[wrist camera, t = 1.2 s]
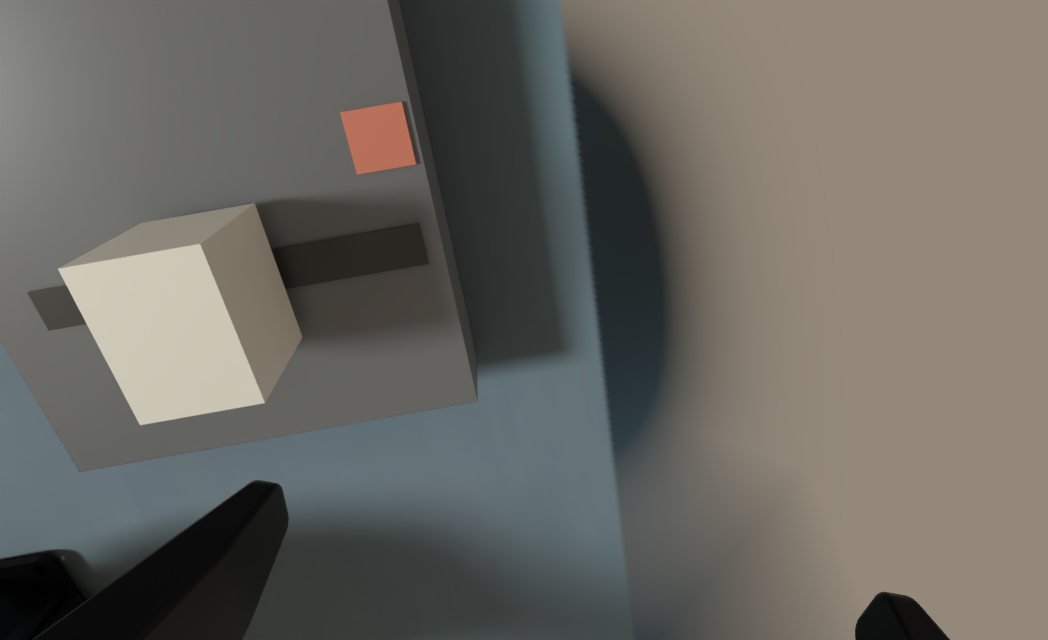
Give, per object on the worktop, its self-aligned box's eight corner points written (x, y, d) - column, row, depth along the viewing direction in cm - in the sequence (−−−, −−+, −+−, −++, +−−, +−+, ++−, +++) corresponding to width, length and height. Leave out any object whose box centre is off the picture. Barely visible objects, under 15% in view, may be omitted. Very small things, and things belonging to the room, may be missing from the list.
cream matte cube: (200, 355, 17) (139, 425, 14) (141, 222, 16) (57, 269, 12) (302, 337, 17) (265, 402, 14) (254, 203, 16) (200, 243, 12)
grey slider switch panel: (127, 418, 22) (77, 474, 19) (-409, -587, 12) (-686, -786, 9) (476, 357, 22) (477, 402, 19) (248, -695, 12) (179, -924, 9)
